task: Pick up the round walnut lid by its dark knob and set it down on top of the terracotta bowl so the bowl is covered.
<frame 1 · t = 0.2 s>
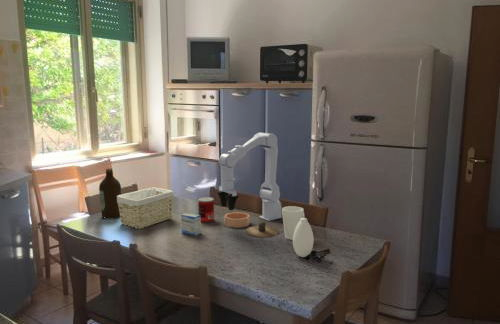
hand: (227, 208, 199), 10 cm above the table, tool pointing down, fingers open, 7 cm apart
lid: (261, 232, 195), on the table
sauce bottle: (302, 256, 166), on the table
bowl: (237, 223, 207), on the table
olive oil: (111, 216, 219), on the table
storage basket: (146, 222, 211), on the table
canned food: (206, 220, 213), on the table
foam cup: (292, 237, 188), on the table
medicine box: (191, 233, 193), on the table
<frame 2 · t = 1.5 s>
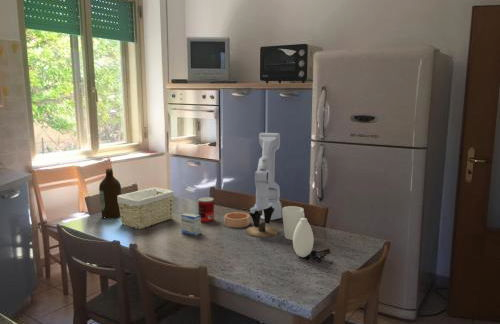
hand: (262, 225, 195), 3 cm above the table, tool pointing down, fingers open, 7 cm apart
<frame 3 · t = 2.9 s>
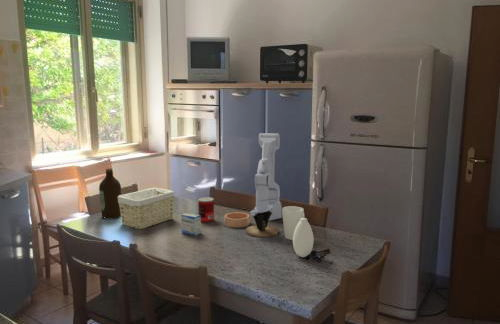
hand: (262, 227, 195), 2 cm above the table, tool pointing down, fingers closed on lid, 3 cm apart
lid: (261, 231, 195), on the table, touching gripper
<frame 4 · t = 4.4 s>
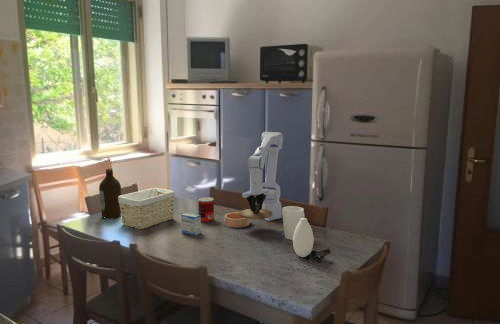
hand: (255, 210, 197), 9 cm above the table, tool pointing down, fingers closed on lid, 3 cm apart
lid: (256, 214, 197), point 7 cm above the table, touching gripper
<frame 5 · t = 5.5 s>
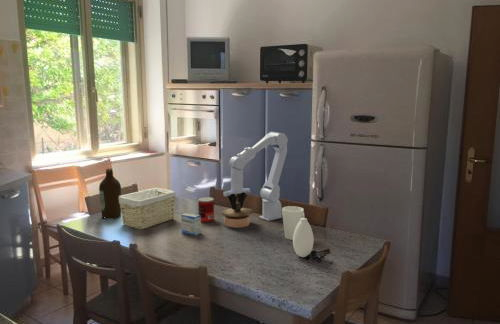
hand: (237, 208, 206), 8 cm above the table, tool pointing down, fingers closed on lid, 3 cm apart
lid: (237, 213, 206), point 5 cm above the table, touching gripper
when the fingers open (7 cm above the table, at t = 6.3 s): lid drops 1 cm, resting on bowl.
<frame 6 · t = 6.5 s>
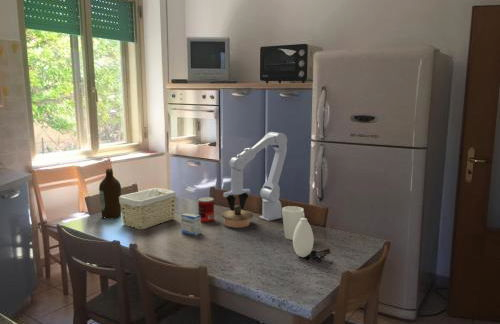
hand: (237, 209, 206), 7 cm above the table, tool pointing down, fingers open, 5 cm apart
lid: (237, 216, 206), point 4 cm above the table, touching bowl
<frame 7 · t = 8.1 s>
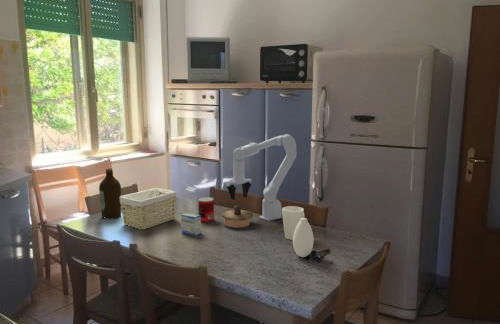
hand: (238, 198, 215), 10 cm above the table, tool pointing down, fingers open, 7 cm apart
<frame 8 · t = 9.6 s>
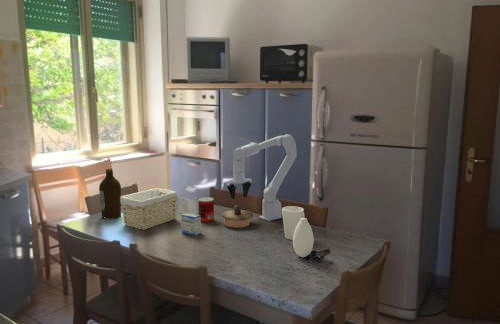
hand: (239, 197, 216), 10 cm above the table, tool pointing down, fingers open, 7 cm apart
at the end: lid 0.5 cm off-centre on the bowl, point 4.0 cm above the bowl's base; lid tilted 0°; the gripper is holding nothing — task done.
